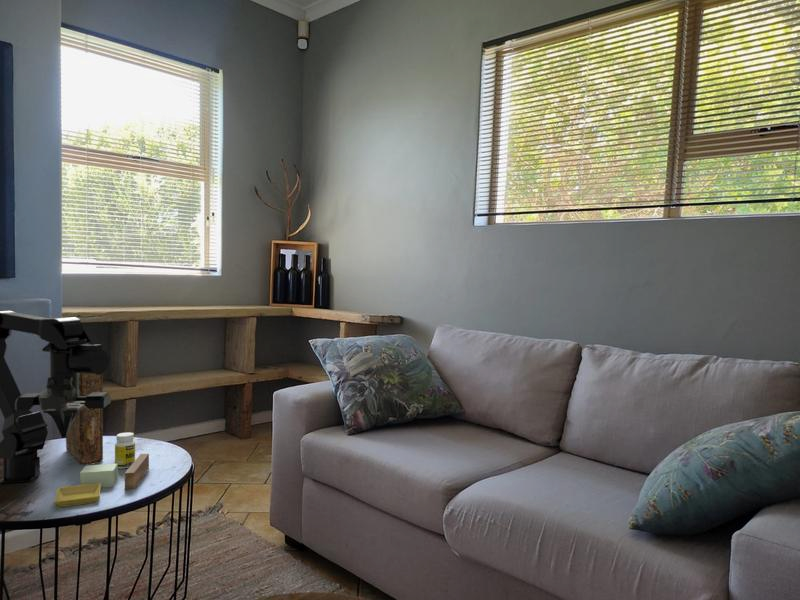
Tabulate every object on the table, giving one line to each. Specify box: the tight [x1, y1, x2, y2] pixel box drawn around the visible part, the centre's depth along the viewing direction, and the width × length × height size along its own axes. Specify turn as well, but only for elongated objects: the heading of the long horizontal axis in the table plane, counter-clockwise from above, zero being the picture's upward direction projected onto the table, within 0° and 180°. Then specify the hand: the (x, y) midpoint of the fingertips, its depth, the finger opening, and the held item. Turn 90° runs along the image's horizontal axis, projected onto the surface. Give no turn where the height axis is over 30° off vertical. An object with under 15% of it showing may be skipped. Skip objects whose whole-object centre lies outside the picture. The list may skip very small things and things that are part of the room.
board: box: [124, 453, 150, 491], centre depth 138 cm, size 2×14×4 cm, turn 11°
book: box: [65, 372, 104, 466], centre depth 154 cm, size 16×6×25 cm, turn 43°
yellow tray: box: [53, 483, 102, 508], centre depth 126 cm, size 9×9×2 cm
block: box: [79, 463, 119, 488], centre depth 135 cm, size 7×5×4 cm
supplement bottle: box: [114, 432, 136, 470], centre depth 147 cm, size 5×5×8 cm
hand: (64, 436), depth 133 cm, fingers closed
